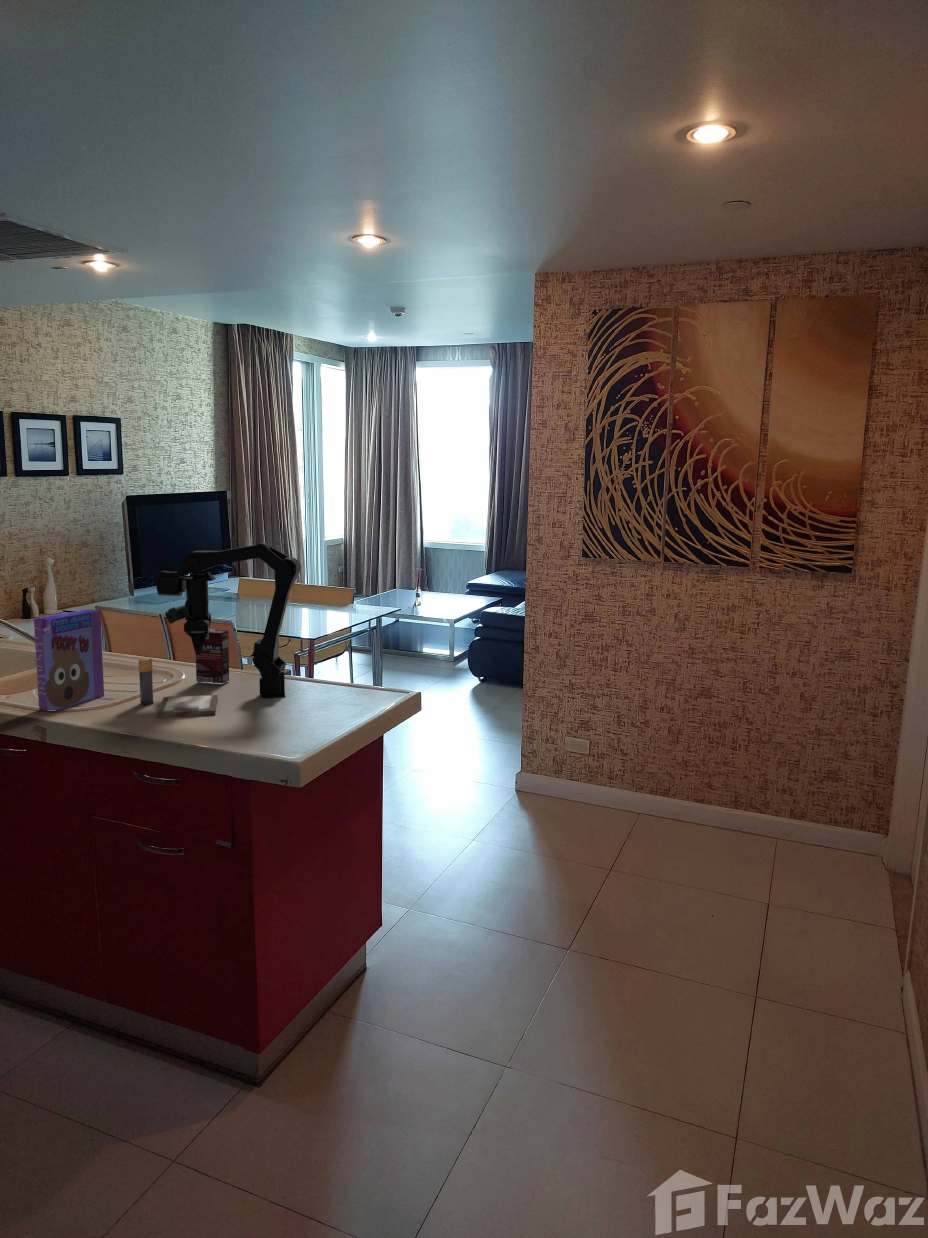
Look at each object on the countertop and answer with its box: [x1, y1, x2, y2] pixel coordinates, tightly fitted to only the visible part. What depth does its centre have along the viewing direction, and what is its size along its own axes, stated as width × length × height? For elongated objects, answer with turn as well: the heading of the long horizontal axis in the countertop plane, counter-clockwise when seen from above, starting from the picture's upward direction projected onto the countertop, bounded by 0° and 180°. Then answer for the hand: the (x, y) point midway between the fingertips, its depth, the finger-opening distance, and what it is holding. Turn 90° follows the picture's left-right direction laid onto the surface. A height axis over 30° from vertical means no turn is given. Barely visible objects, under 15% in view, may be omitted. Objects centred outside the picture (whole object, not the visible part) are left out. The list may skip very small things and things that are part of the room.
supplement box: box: [195, 628, 230, 684], centre depth 238 cm, size 9×5×16 cm, turn 80°
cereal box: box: [33, 608, 105, 711], centre depth 212 cm, size 17×5×24 cm, turn 162°
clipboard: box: [156, 694, 218, 718], centre depth 212 cm, size 14×16×2 cm
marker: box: [137, 657, 154, 706], centre depth 214 cm, size 3×3×12 cm
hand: (198, 651), depth 225 cm, fingers open, 9 cm apart
